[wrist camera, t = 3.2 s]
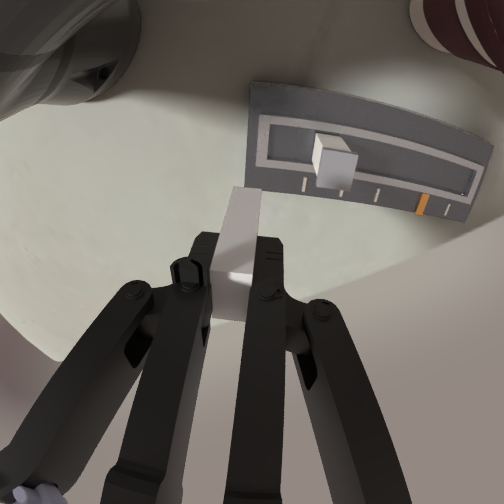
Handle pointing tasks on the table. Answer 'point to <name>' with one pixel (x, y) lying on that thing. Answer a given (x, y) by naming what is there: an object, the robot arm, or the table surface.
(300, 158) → the console
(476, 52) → the coffee cup
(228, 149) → the table surface
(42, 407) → the robot arm
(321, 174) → the fader knob
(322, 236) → the table surface
